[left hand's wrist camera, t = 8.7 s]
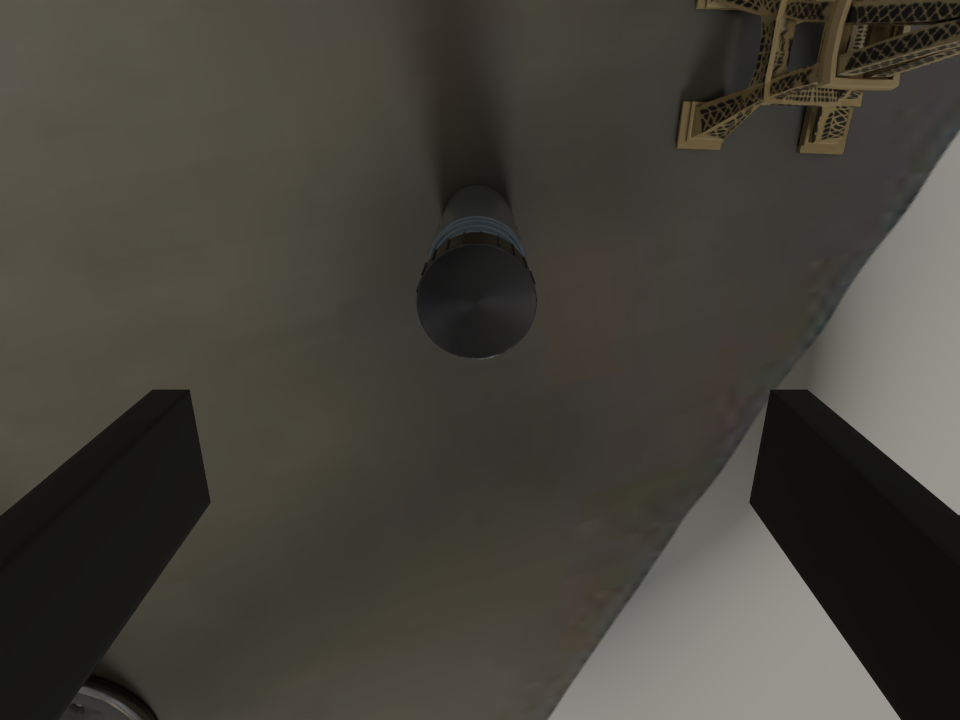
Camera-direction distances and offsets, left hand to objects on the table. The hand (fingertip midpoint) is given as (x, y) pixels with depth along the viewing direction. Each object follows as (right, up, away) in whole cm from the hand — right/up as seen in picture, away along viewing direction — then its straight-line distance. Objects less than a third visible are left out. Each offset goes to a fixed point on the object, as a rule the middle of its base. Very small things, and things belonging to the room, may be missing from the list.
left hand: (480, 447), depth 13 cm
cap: (0, +4, +10) cm, 11 cm away
